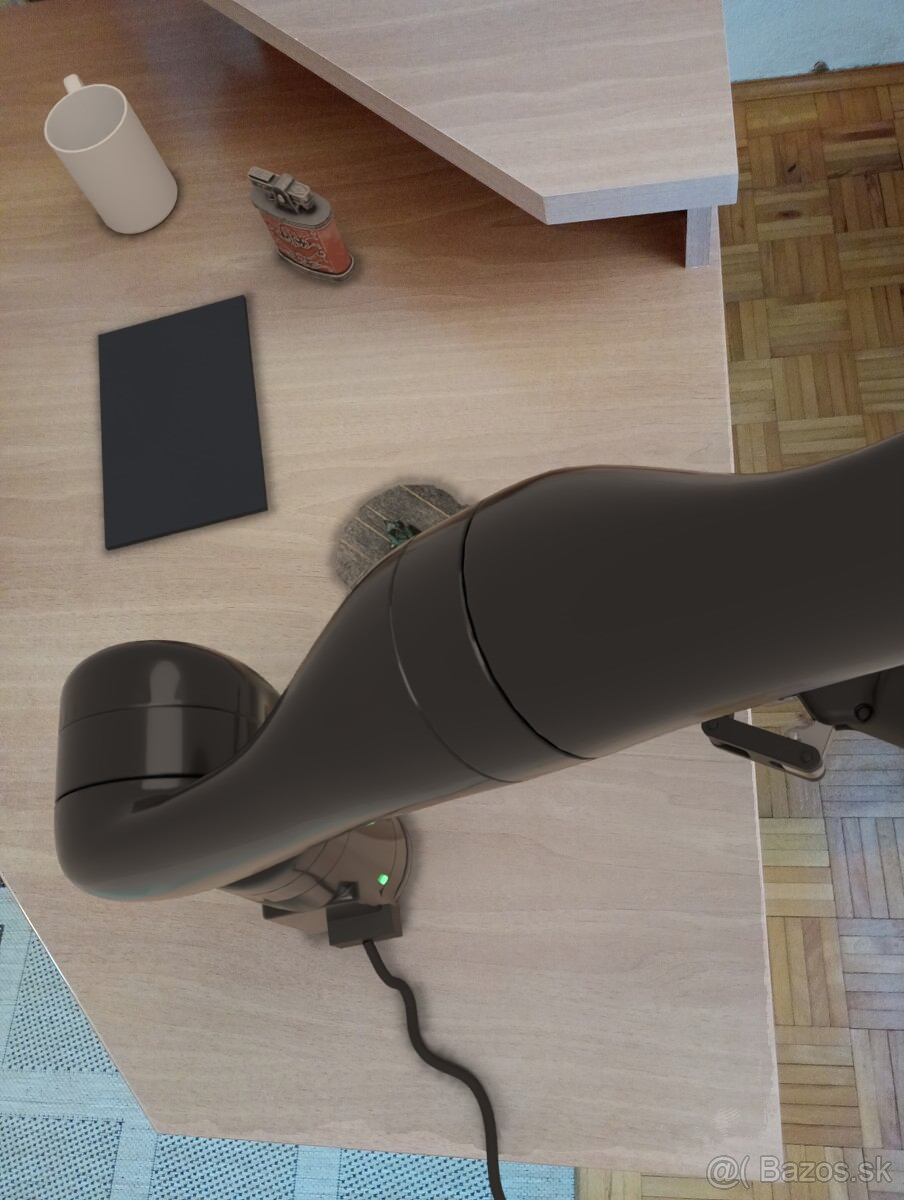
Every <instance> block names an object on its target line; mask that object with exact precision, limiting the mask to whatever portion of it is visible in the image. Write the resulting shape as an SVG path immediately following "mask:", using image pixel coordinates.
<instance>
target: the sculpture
mask: <svg viewBox="0 0 904 1200" xmlns="http://www.w3.org/2000/svg"><path fill="white" fill-rule="evenodd" d="M469 506H470V505H469V504H468V503H466V504H459V503H458V501H457V499H455V498H454V496H452V494H451V493H448V492H446V491H445V490H443V489H441V488H437V487H435V485H434V484H433V485H430V484H429V485H428V484H398V485H397V486H395V487H393V488H389V489H387V490H385V491H383V492H382V493H379V494H377V495H376V496H374V497H372V498H370V499H368V501H366V502H365V503H363V504H362V506H360V507H359V509H358V511H357V513H356V515H355V517H354V518H351V519H349V520H348V522H347V524H346V525H345V526H344V528H343V531H342V534H341V535H340V539H339V541H340V542H339V543H340V545H339V547H338V549H337V554H336V560H335V566H336V574H337V575H338V576H339V578H340V579H341V580H342V581H343V582H344V583H346V584H347V585H348V586H349V587H350V588H351V591H352V590H353V589H354V587H355V586H356V585H357V584H358V583H359V582H360V580H361V579H362V578H363V577H364V576H365V574H366V573H367V572H368V571H369V570H370V569H371V568H372V567H373V566H374V565H375V564H376V563H377V562H378V561H379V560H381V559H382V558H383V557H384V556H386V555H387V554H388V553H390V552H391V551H392V550H394V549H395V548H397V547H398V546H400V545H401V544H402V543H404V542H406V541H407V540H409V539H410V538H412V537H414V536H415V535H417V534H419V533H421V532H423V531H424V530H427V529H428V528H430V527H432V526H434V525H436V524H438V523H439V522H441V521H443V520H445V519H447V518H449V517H451V516H453V515H454V514H456V513H458V512H460V511H462V510H464V509H466V508H468V507H469Z"/></svg>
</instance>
